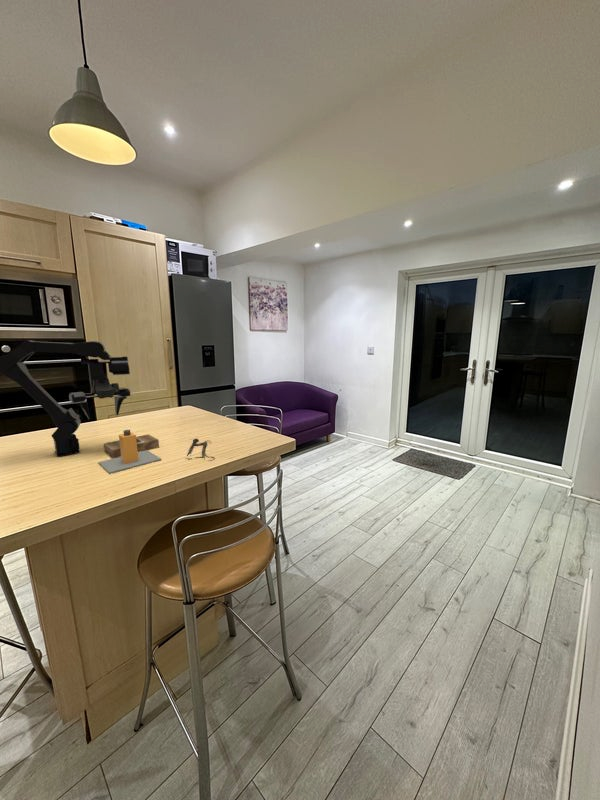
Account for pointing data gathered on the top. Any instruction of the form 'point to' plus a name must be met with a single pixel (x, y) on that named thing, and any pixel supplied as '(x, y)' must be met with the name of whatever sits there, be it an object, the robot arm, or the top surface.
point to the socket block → (142, 444)
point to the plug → (128, 447)
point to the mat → (119, 465)
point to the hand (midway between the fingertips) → (103, 417)
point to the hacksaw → (202, 449)
